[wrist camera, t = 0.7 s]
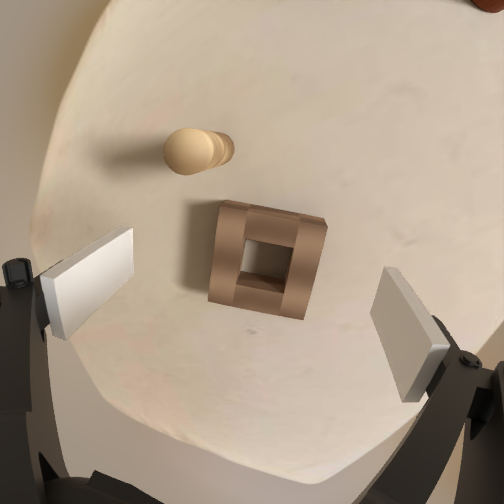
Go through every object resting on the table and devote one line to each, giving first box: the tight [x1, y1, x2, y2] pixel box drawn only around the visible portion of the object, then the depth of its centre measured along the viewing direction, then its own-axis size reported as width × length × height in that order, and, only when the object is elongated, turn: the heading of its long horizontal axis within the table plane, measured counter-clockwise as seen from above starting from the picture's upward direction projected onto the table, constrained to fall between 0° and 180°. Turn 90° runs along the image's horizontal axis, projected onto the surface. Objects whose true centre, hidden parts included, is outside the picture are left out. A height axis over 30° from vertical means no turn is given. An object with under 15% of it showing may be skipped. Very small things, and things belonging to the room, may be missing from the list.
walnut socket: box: [208, 200, 328, 320], centre depth 38 cm, size 12×12×4 cm
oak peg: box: [164, 128, 234, 175], centre depth 30 cm, size 4×4×12 cm
